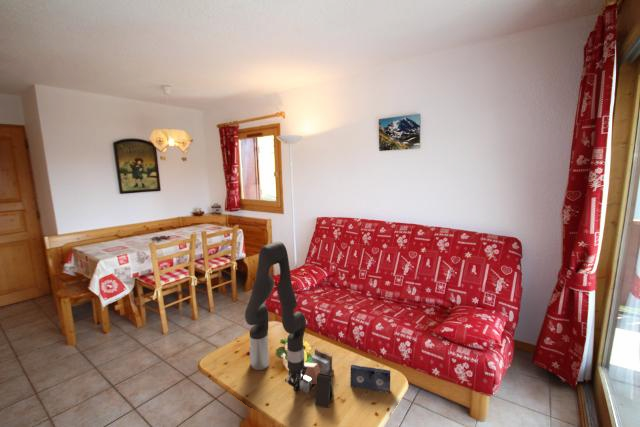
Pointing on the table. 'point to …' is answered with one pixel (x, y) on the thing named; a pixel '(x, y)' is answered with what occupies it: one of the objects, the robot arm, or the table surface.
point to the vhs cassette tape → (370, 378)
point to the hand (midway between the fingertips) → (296, 391)
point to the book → (312, 371)
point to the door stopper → (323, 390)
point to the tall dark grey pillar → (321, 367)
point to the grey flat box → (306, 384)
